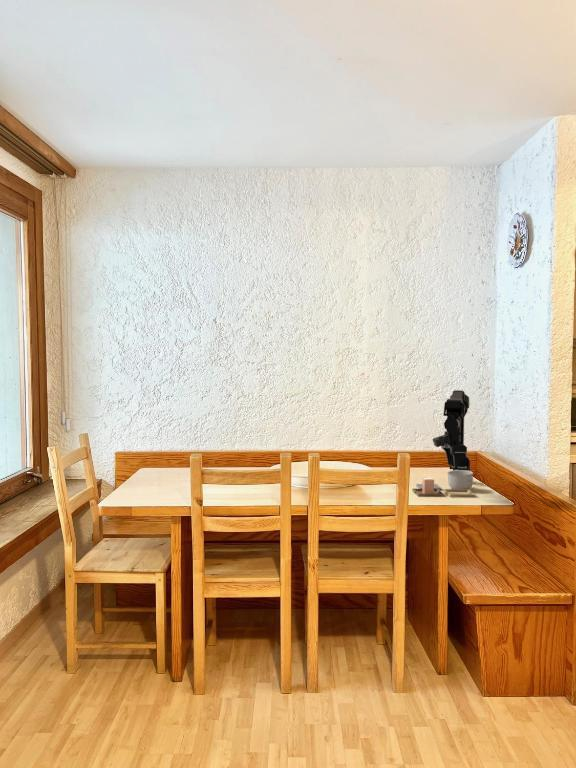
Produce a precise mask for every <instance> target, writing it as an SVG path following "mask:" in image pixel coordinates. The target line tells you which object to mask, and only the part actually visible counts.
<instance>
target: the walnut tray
mask: <svg viewBox="0 0 576 768" xmlns="http://www.w3.org/2000/svg"><path fill="white" fill-rule="evenodd" d="M412 492H413V494H415V495H416V496H417V497H419V498H420V497H423V498H426V497H428V498H431V497H432V498H435V497H436V498H444V497H445V493H444V492H443V491H440V490H439V489H434V494H423V493H422V489H419V488H412Z"/></svg>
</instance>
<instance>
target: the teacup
mask: <svg viewBox="0 0 576 768" xmlns="http://www.w3.org/2000/svg"><path fill="white" fill-rule="evenodd" d="M473 475H474V472H473V471H471V470H454V471H453V470H450V471H448V472H447V482H448V486H449V488H450V489H469V490H470V489H471V488H472V487H473V484H474V476H473Z"/></svg>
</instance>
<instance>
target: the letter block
mask: <svg viewBox="0 0 576 768" xmlns="http://www.w3.org/2000/svg"><path fill="white" fill-rule="evenodd" d="M421 484H422V493H423V494H434V484H435V480H434V479H433V478H432V477H422V483H421Z"/></svg>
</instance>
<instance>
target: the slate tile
mask: <svg viewBox="0 0 576 768" xmlns="http://www.w3.org/2000/svg"><path fill="white" fill-rule="evenodd" d="M416 487H417V489H422V483H416ZM434 489H439V490H440V491H441V492H443V489H442V487H441V486H439V485H438V484H437V483H434Z"/></svg>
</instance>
